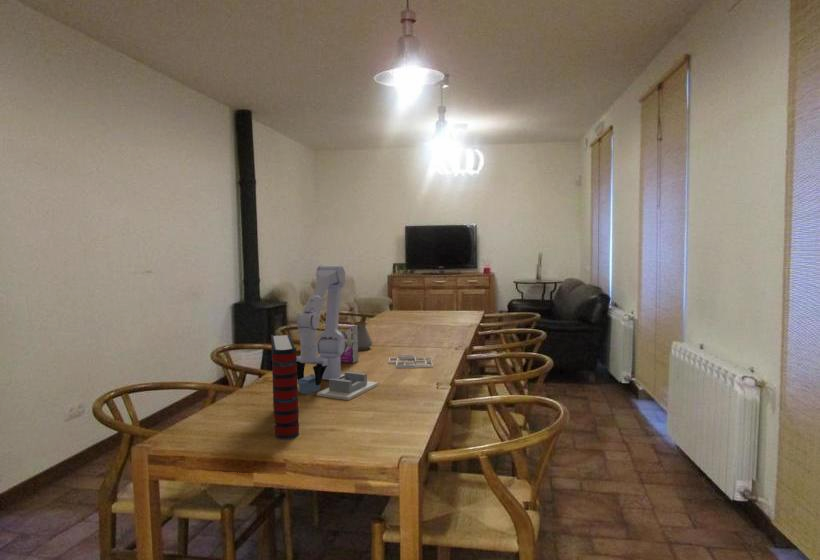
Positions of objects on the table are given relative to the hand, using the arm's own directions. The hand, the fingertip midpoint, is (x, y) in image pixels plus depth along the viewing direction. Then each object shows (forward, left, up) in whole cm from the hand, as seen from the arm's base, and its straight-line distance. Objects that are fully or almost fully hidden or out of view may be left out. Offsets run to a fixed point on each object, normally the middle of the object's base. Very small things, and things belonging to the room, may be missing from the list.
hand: (309, 383), depth 191 cm
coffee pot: (-19, +65, -3) cm, 68 cm away
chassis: (+12, +6, -3) cm, 14 cm away
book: (+14, -31, -3) cm, 34 cm away
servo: (0, 0, -3) cm, 3 cm away
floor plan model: (+12, +51, -3) cm, 53 cm away
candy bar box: (-13, +43, -3) cm, 45 cm away
